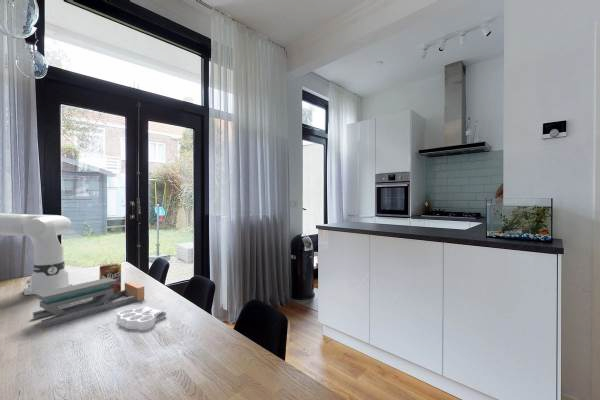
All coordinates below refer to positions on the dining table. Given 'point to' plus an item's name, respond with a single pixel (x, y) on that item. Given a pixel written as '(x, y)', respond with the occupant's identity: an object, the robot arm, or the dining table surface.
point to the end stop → (134, 290)
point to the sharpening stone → (76, 296)
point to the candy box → (112, 274)
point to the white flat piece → (139, 318)
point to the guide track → (84, 311)
